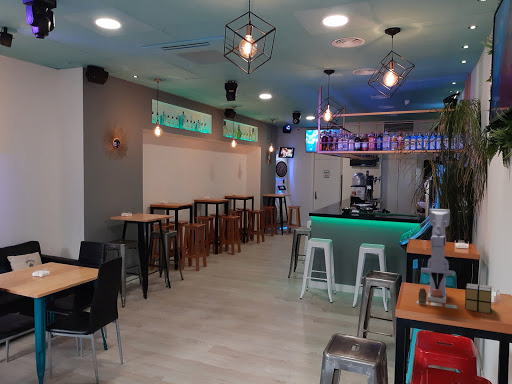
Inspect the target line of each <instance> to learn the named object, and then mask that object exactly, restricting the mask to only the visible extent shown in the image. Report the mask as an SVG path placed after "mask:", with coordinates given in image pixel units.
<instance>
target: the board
mask: <svg viewBox="0 0 512 384" xmlns="http://www.w3.org/2000/svg"><path fill="white" fill-rule="evenodd" d="M416 304H418V305H419V304H420V305H429V301H426V303H425V304H423V303H419V299H417V300H416ZM444 304H445V305H444V308H449V309H458V305H455V304H447V303H444ZM430 306H434V307H441V308H442V307H443V303H440V302H432V301H430Z"/></svg>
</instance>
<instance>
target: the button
mask: <svg viewBox="0 0 512 384" xmlns="http://www.w3.org/2000/svg"><path fill="white" fill-rule="evenodd" d="M431 296H433V297H438V298H442V297H443V290H441V289H432V295H431Z"/></svg>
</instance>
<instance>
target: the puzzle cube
mask: <svg viewBox="0 0 512 384" xmlns="http://www.w3.org/2000/svg"><path fill="white" fill-rule="evenodd" d="M464 293H465V295H464V296H465V298H464V299H465V300H464V309H466V310H470V311H471V312H479V313H482V314H492V293H493V292H492V286H490V285H483V284H474V283H466V285H465V292H464Z"/></svg>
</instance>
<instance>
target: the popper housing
mask: <svg viewBox="0 0 512 384" xmlns="http://www.w3.org/2000/svg"><path fill="white" fill-rule="evenodd" d="M431 295H432V293H429V292H428V293H427V298H426V302H433V303H441V304H447V294H446V295H443V297H442V298H438V297H433V296H431Z"/></svg>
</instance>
